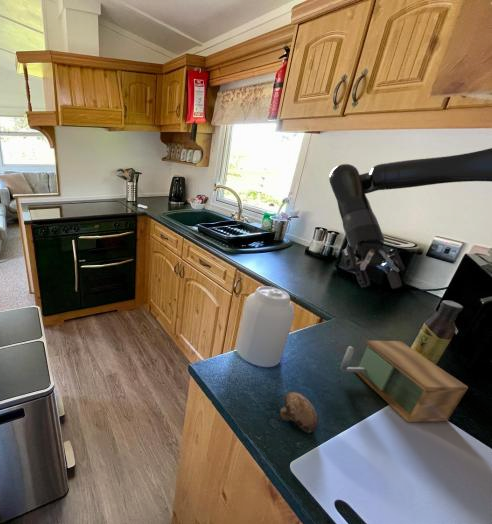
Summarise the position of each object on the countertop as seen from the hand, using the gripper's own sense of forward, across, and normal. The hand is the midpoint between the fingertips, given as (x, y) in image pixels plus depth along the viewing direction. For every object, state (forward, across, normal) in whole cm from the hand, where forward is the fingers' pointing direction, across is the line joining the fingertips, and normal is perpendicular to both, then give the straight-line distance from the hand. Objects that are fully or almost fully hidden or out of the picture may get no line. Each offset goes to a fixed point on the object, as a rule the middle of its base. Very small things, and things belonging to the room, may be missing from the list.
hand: (381, 287), depth 72 cm
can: (+14, -24, +22) cm, 35 cm away
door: (+21, -3, +12) cm, 25 cm away
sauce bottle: (+16, +25, +19) cm, 35 cm away
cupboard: (+24, +5, +11) cm, 27 cm away
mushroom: (+30, -26, +6) cm, 40 cm away
